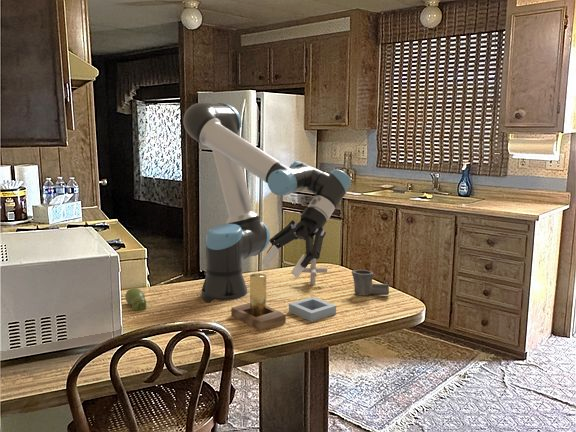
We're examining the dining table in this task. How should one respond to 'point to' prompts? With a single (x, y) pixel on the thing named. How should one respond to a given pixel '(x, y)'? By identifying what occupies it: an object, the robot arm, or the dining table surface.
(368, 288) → the pipe
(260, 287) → the axle
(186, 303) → the dining table surface
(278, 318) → the brown wooden holder
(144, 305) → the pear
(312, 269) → the pipe connector
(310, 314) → the blue-grey square socket
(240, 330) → the dining table surface
